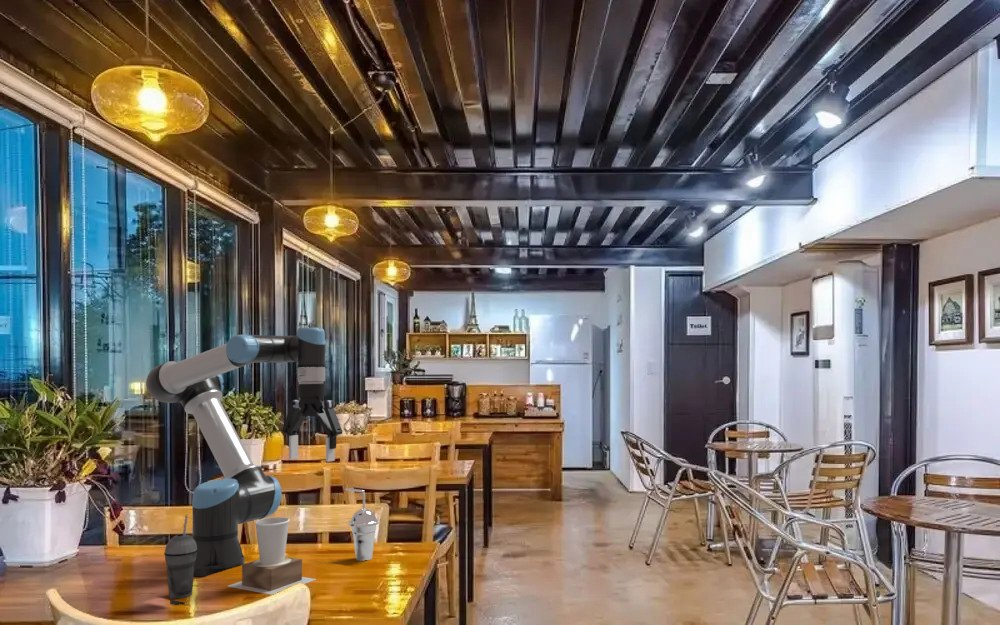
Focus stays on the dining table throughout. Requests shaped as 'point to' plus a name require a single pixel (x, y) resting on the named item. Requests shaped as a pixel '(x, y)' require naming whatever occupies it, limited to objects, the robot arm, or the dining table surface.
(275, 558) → the dixie cup
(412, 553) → the dining table surface
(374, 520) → the cup with straw
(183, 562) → the beverage cup
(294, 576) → the brown block
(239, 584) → the board
